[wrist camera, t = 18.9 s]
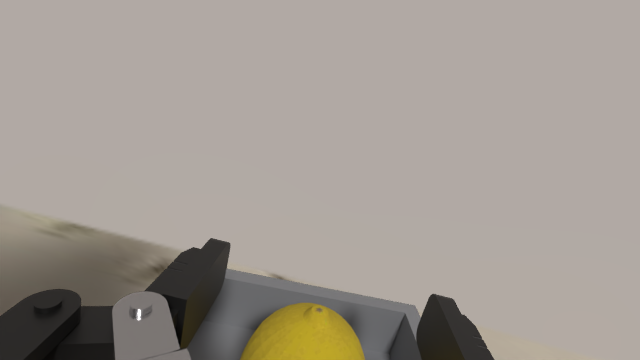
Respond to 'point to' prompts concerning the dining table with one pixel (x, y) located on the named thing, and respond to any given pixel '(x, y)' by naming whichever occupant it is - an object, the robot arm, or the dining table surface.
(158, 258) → the dining table surface
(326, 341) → the lemon
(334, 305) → the bin
